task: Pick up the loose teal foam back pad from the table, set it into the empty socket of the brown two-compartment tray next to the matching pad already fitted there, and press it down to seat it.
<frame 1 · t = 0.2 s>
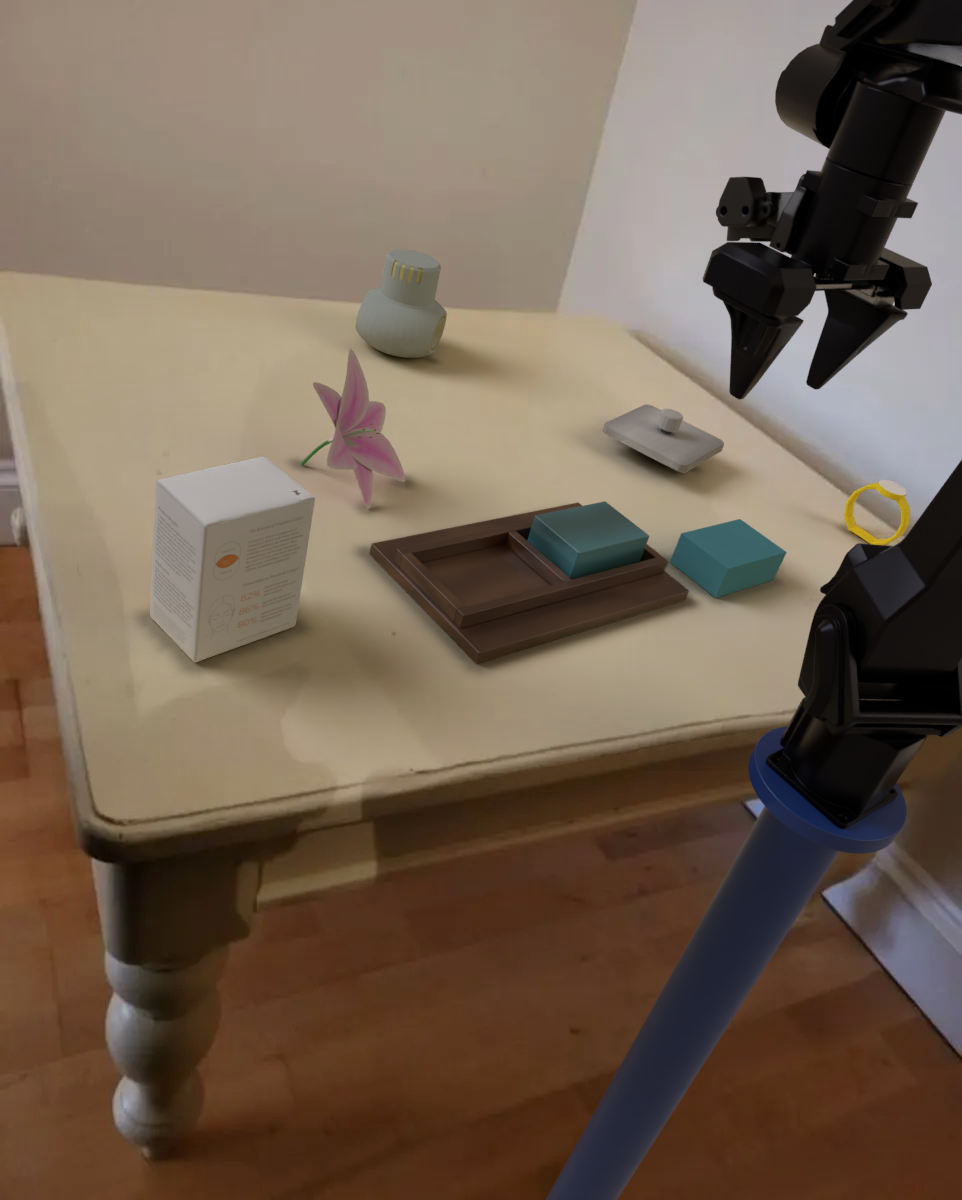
hand: (775, 391, 74), 18 cm above the table, tool pointing down, fingers open, 9 cm apart
small box: (222, 625, 68), on the table
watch: (863, 539, 101), on the table
air freshener: (396, 349, 113), on the table
pad: (721, 571, 89), on the table
lily: (346, 483, 87), on the table
light switch: (656, 458, 105), on the table
brown two-compartment tray: (532, 577, 81), on the table
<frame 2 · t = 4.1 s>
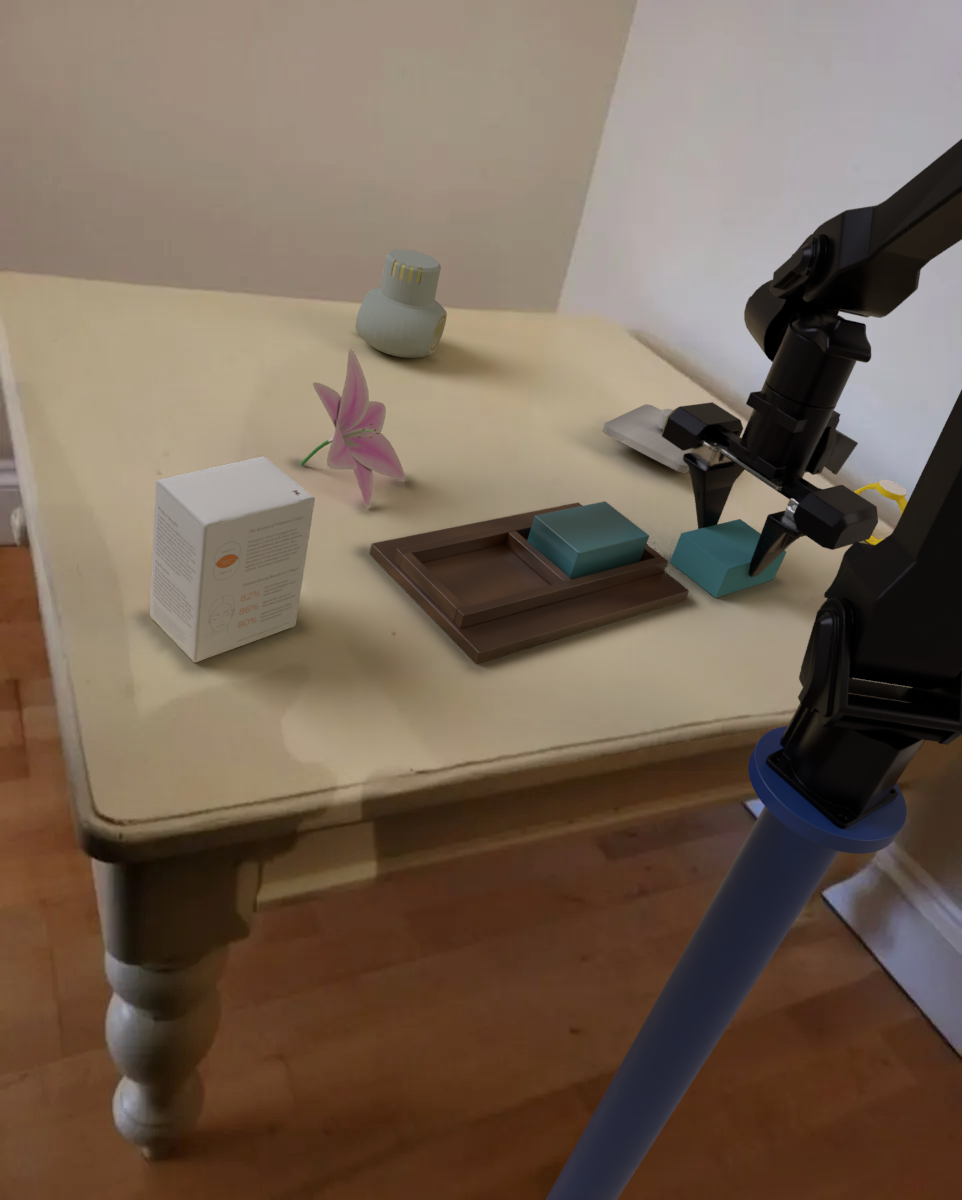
hand: (728, 556, 88), 2 cm above the table, tool pointing down, fingers closed on pad, 5 cm apart
pad: (721, 571, 89), on the table, touching gripper
everything else where it was.
when the fingers open (3 cm above the table, at t = 9.6 s): pad stays where it is, resting on brown two-compartment tray.
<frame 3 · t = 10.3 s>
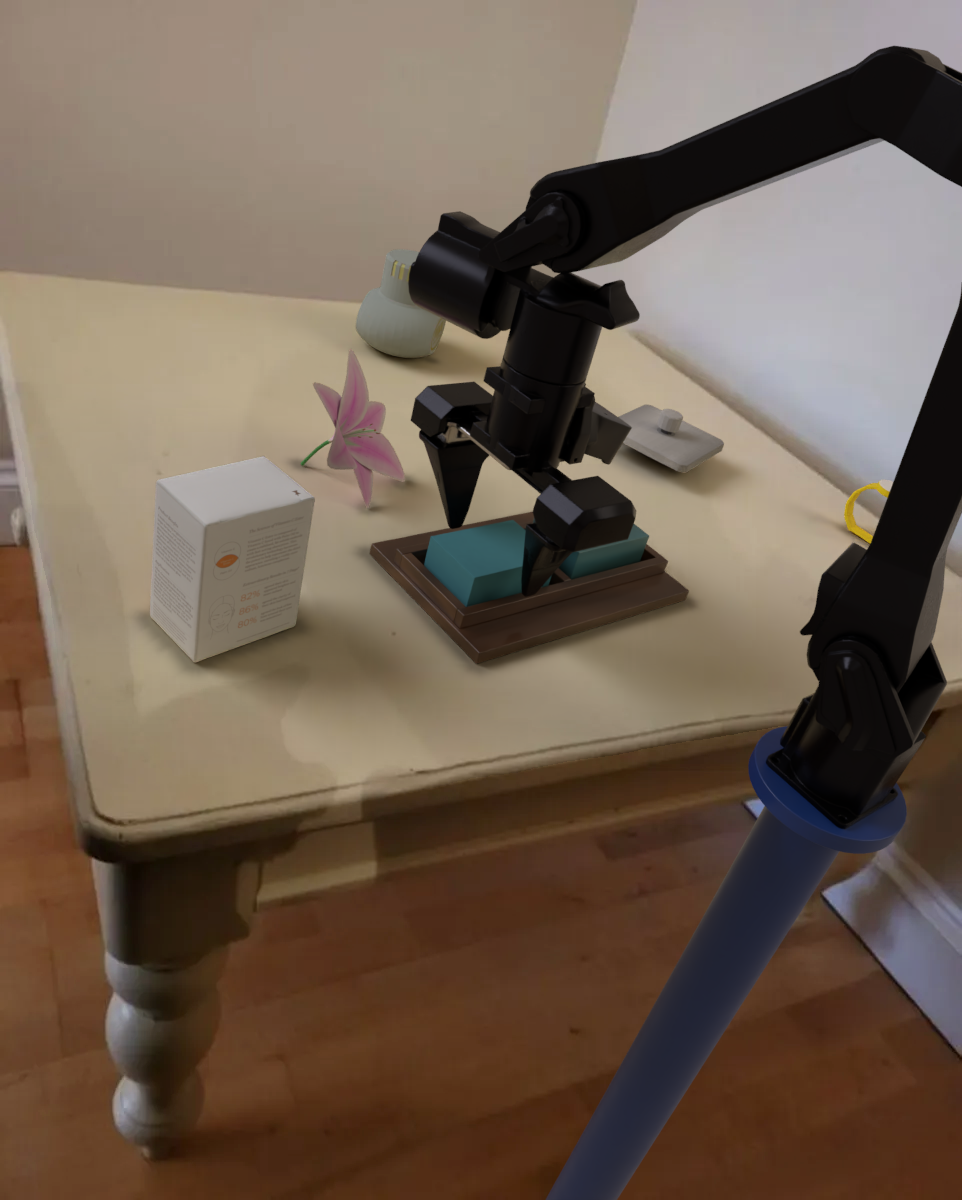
hand: (490, 559, 76), 3 cm above the table, tool pointing down, fingers open, 9 cm apart
pad: (485, 579, 77), point 1 cm above the table, touching brown two-compartment tray
everything else where it was.
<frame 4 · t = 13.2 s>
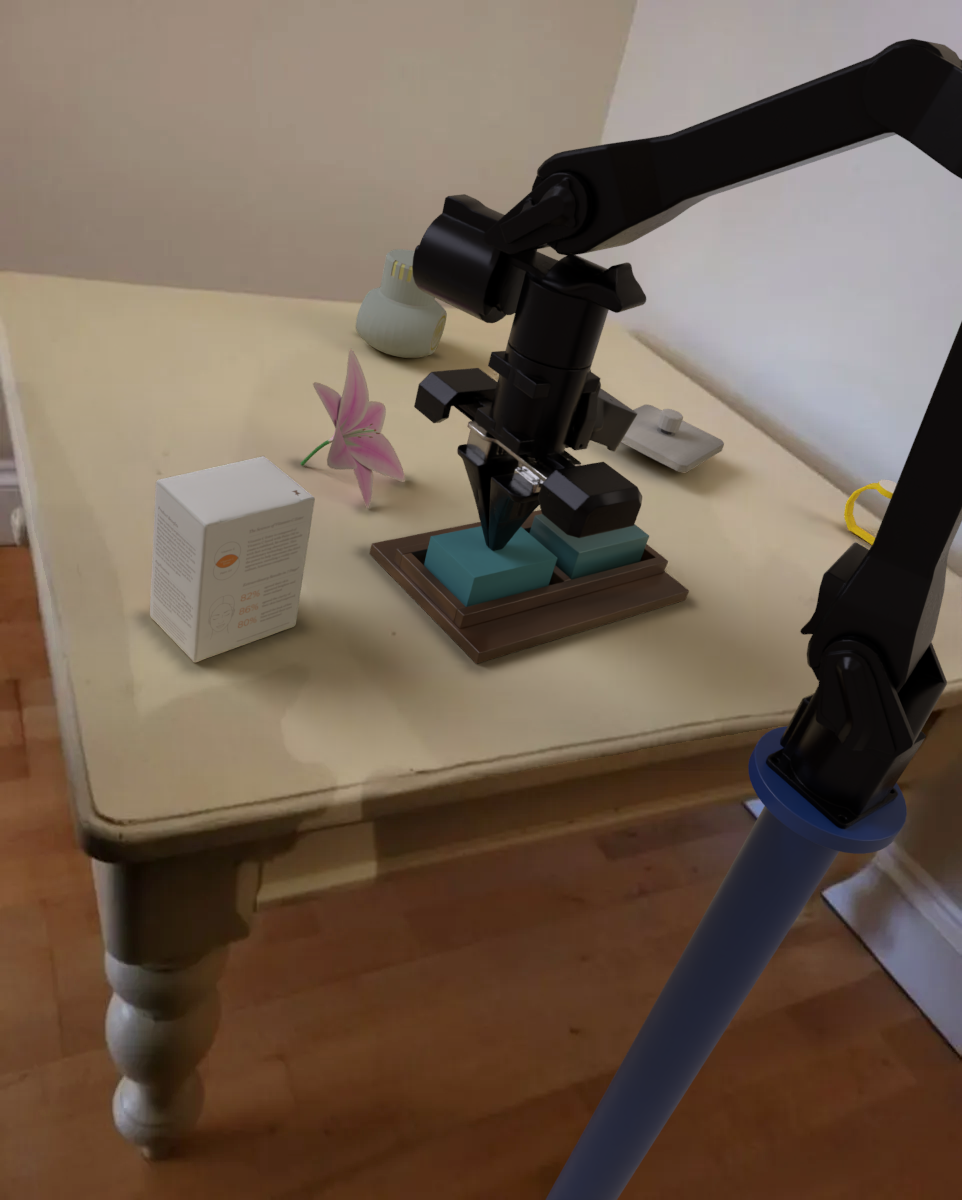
hand: (494, 547, 76), 4 cm above the table, tool pointing down, fingers closed, pressing on pad
pad: (485, 579, 77), point 1 cm above the table, touching brown two-compartment tray, gripper
everything else where it was.
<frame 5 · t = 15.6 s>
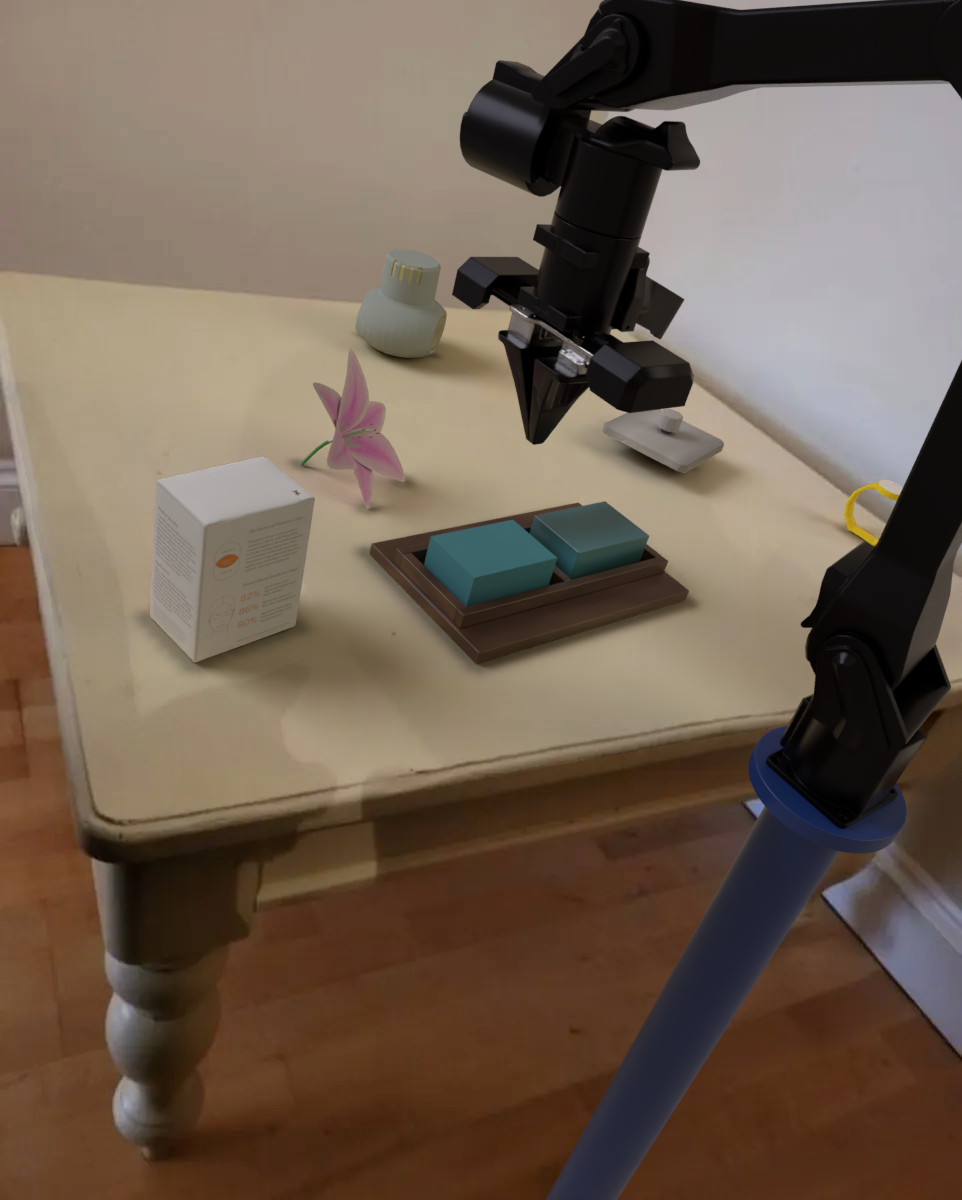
hand: (534, 441, 73), 12 cm above the table, tool pointing down, fingers closed
pad: (485, 579, 77), point 1 cm above the table, touching brown two-compartment tray
everything else where it was.
at the end: pad 0.1 cm from the target spot on the brown two-compartment tray, point 1.0 cm above the brown two-compartment tray's base; pad tilted 0°; the gripper is holding nothing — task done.
